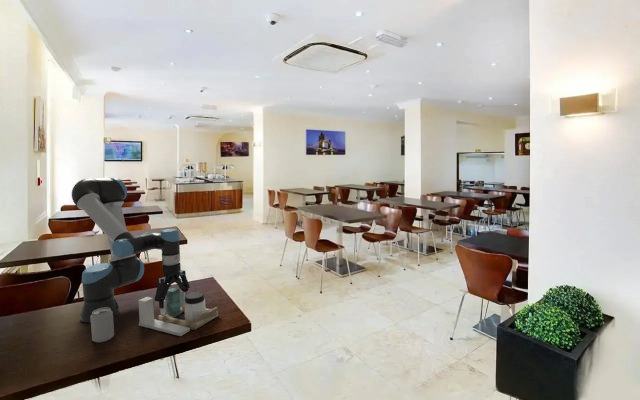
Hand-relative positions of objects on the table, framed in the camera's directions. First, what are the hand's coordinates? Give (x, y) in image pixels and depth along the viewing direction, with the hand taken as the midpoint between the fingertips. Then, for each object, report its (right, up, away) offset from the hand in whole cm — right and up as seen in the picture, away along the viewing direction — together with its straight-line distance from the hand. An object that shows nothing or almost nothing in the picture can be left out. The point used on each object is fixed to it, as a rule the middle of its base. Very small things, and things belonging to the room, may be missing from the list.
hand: (173, 309), depth 152 cm
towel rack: (+8, -3, -3) cm, 10 cm away
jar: (+12, -4, -5) cm, 13 cm away
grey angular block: (+1, -4, -12) cm, 13 cm away
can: (-19, -5, -20) cm, 28 cm away
